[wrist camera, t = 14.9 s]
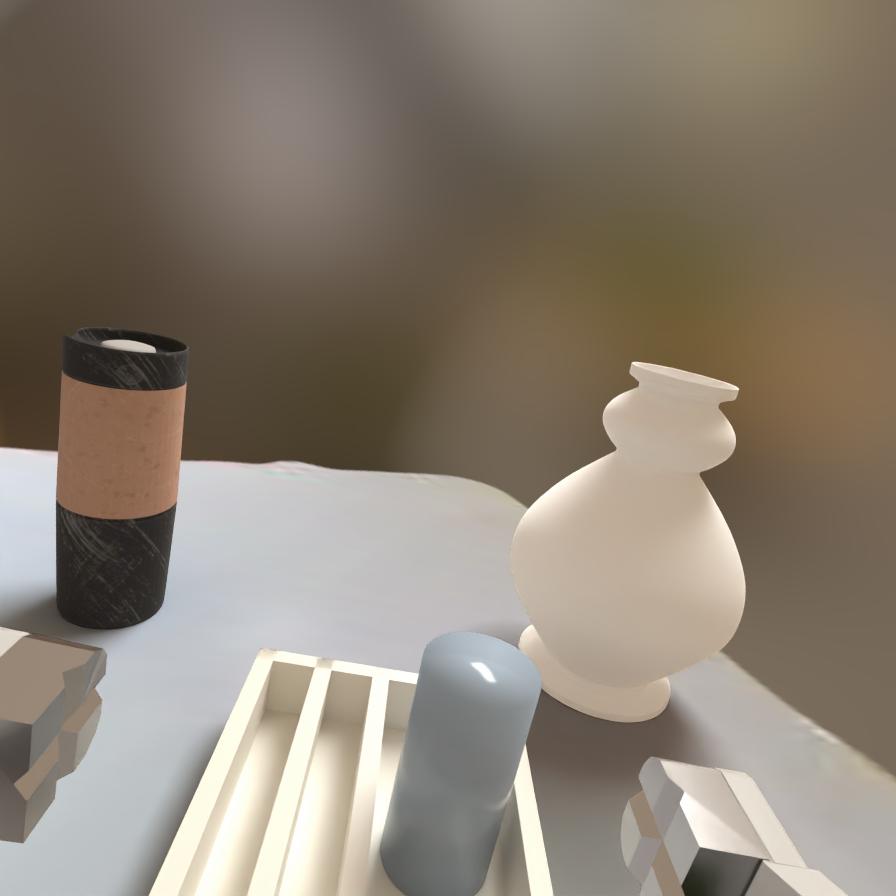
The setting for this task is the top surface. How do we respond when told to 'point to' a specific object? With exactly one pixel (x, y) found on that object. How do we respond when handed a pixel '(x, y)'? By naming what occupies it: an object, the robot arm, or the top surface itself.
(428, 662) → the grey cylinder
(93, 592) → the travel mug
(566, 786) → the top surface
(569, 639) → the decorative vase
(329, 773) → the compartment tray
